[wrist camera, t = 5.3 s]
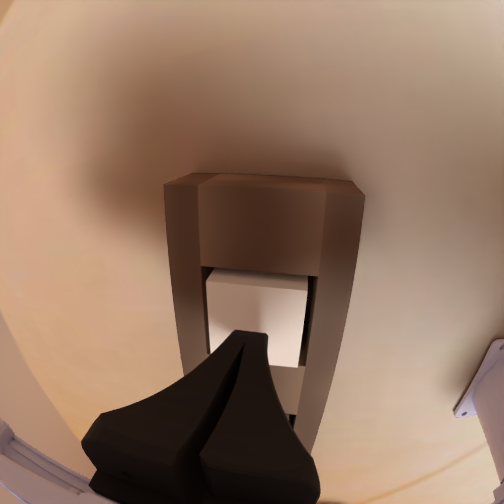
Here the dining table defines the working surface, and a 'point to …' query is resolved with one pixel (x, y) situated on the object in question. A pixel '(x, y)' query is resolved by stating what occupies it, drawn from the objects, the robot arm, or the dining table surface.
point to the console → (268, 266)
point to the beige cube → (258, 309)
